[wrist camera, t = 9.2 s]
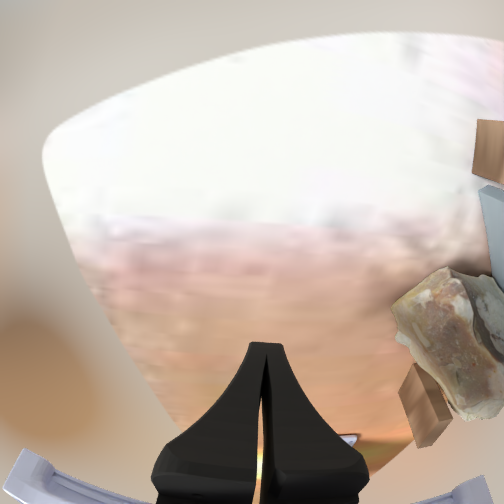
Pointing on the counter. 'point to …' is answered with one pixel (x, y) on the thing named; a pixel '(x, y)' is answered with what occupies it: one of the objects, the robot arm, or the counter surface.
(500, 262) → the door
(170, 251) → the counter surface
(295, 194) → the counter surface
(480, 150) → the door frame
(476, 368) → the stone
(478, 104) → the counter surface
